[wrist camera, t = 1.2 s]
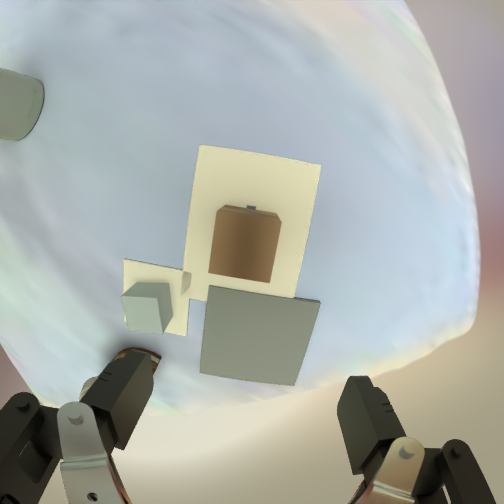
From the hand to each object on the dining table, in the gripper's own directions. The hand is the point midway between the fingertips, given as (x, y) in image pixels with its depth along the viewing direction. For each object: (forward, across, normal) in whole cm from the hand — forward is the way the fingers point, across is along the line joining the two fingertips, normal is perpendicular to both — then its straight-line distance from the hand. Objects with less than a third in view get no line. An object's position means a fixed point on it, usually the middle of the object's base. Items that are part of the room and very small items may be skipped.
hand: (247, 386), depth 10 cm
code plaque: (+19, +1, -3) cm, 19 cm away
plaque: (+19, +11, +6) cm, 22 cm away
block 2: (+18, +1, -3) cm, 19 cm away
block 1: (+18, +11, +6) cm, 22 cm away
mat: (+19, -1, +10) cm, 21 cm away
